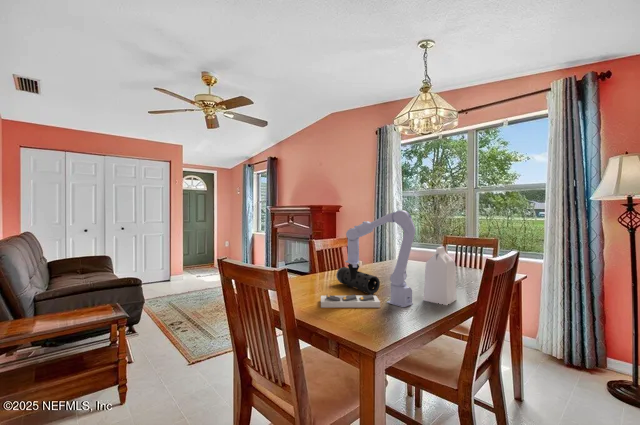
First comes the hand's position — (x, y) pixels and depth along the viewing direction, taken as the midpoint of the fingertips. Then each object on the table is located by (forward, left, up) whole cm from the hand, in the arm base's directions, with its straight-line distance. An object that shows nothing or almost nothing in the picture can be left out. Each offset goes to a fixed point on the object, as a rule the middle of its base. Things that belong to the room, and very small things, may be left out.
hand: (353, 279), depth 155 cm
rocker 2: (-12, +3, -6) cm, 14 cm away
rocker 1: (-2, +16, -6) cm, 17 cm away
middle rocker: (-7, +10, -6) cm, 13 cm away
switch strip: (-6, +9, -9) cm, 14 cm away
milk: (-30, -30, -10) cm, 44 cm away
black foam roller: (+10, -13, -10) cm, 19 cm away
